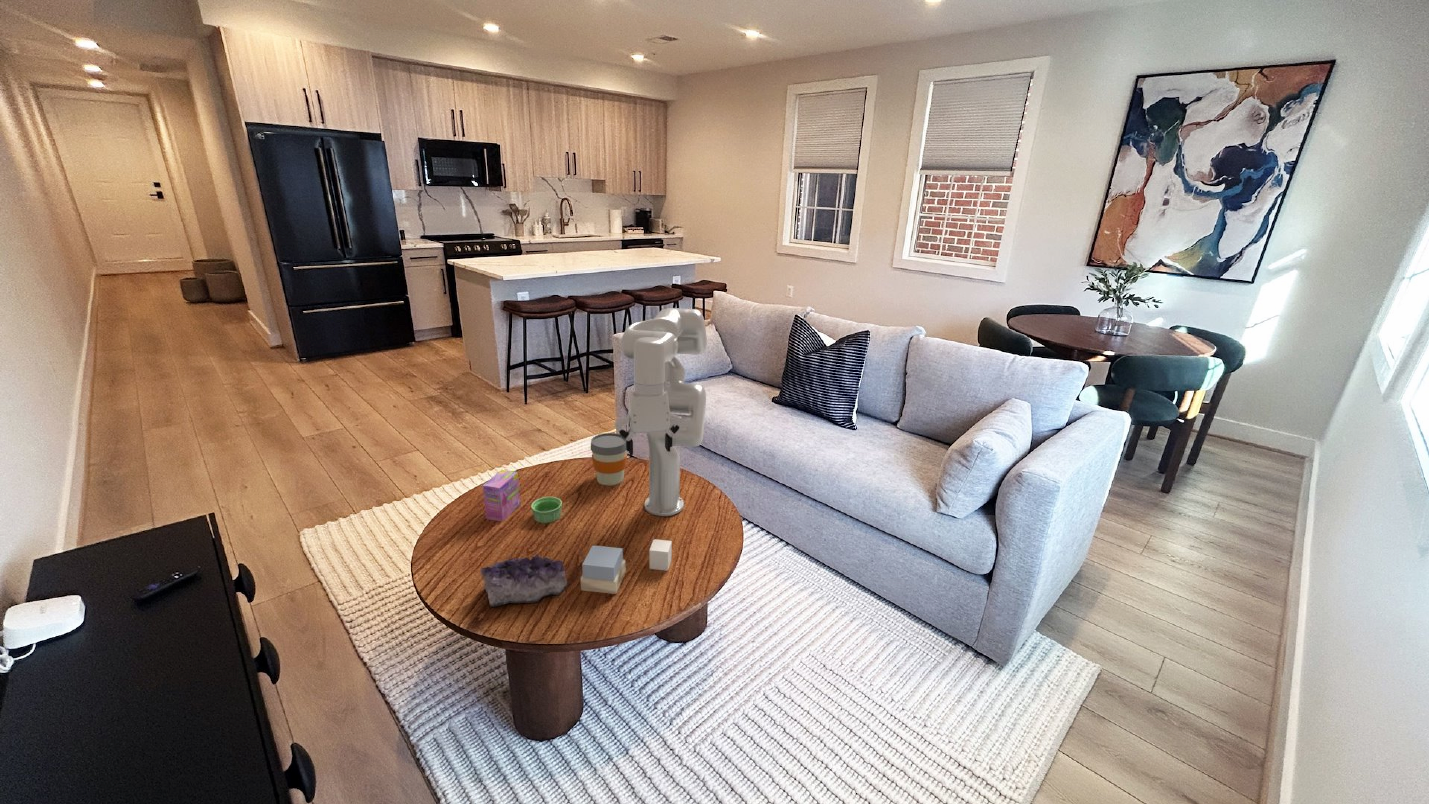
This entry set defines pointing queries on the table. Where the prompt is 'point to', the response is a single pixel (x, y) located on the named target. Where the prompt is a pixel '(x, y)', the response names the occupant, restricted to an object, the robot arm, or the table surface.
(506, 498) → the box
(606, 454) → the reusable coffee cup
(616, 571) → the tower top
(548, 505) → the ramekin
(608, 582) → the tower base
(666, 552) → the white block
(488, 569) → the geode
